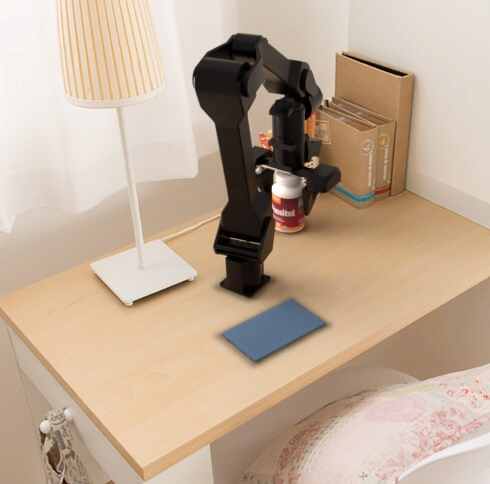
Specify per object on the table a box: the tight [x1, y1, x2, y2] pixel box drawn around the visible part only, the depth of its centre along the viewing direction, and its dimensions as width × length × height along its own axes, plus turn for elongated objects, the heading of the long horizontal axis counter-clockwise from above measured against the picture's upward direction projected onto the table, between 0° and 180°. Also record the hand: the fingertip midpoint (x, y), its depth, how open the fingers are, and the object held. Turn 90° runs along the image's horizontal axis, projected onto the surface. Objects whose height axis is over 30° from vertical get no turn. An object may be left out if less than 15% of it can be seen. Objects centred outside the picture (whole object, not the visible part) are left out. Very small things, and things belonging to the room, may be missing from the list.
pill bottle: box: [272, 171, 306, 234], centre depth 138 cm, size 6×6×11 cm
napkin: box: [221, 298, 327, 364], centre depth 116 cm, size 14×8×1 cm, turn 129°
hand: (289, 209), depth 140 cm, fingers closed on pill bottle, 8 cm apart
